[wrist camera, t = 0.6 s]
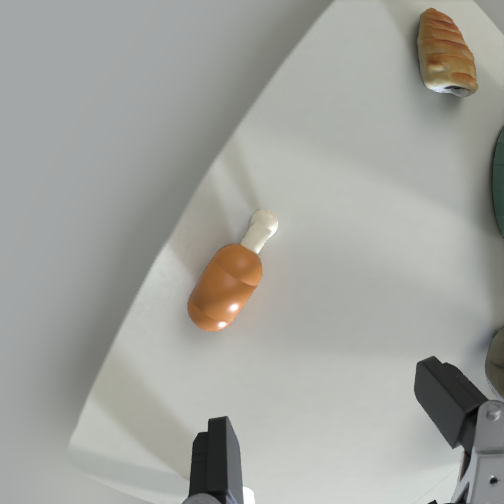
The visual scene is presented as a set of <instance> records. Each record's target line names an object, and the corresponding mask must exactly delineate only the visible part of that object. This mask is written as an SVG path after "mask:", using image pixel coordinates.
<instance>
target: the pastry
mask: <svg viewBox="0 0 504 504" xmlns="http://www.w3.org/2000/svg"><path fill="white" fill-rule="evenodd" d="M417 46H418V60H419V62H420V74H421V78H422V79H423V82H424V84H425V86H426V87H427V88H428V89H431V90H433V91H436V92H440V93H442V92H444V93H452V94H454V95H456V96H458V97H467V96H469V95H471V94H473V93H475V92H476V90H477V89H478V84H477V83H476V69H475V65H474V57H473V54H472V53H471V52H470V50H469V49H468V46H467V45H466V43H465V41H464V40H463V37H462V34H461V32H460V31H459V30H458V27H457V26H456V25H455V24H454V22H453V20H452V19H451V18H450V17H448V16H447V15H445V14H443V13H441V12H439V11H437V10H435V9H434V8H429V9H427V10H426V11H425V12H423V13H422V14H421V16H420V27H419V35H418V39H417Z"/></svg>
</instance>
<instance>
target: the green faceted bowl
mask: <svg viewBox="0 0 504 504" xmlns="http://www.w3.org/2000/svg"><path fill="white" fill-rule="evenodd" d="M492 189H493V190H492V192H493V200H494V209H495V215H496V218H497V222H498V225H499V228H500V232H501V234H502V235H503V237H504V127H503V130H502V132H501V134H500V137H499V139H498V141H497V146H496V151H495V157H494V162H493V186H492Z"/></svg>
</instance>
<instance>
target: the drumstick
mask: <svg viewBox="0 0 504 504" xmlns="http://www.w3.org/2000/svg"><path fill="white" fill-rule="evenodd" d="M277 226H278V222H277V218H276V216H275V215H274V214H273V213H272V212H270V211H268V210H259V211H256V212H255V213H254V214H253V215H252V216H251V218H250V220H249V230H248V231H247V233H246V234H245V236H244V237H243V239H242V241H241V242H240V244H230V245H227V246H225V247H223V248H221V249H220V250H219V251H218V252H217V253H216V254H215V255H214V257H213V258H212V260H211V262H210V263H209V265H208V266H207V268H206V270H205V271H204V273H203V275H202V276H201V278H200V279H199V281H198V283H197V284H196V286H195V288H194V289H193V291H192V292H191V294H190V297H189V299H188V313H189V316H190V318H191V320H192V321H193V323H194V324H195V325H197V326H198V327H199V328H201V329H203V330H206V331H219V330H222V329H224V328H226V327H227V326H229V325H230V324H231V323H232V321H233V320H234V319H235V317H236V316H237V314H238V313H239V312H240V310H241V309H242V307H243V306H244V304H245V303H246V301H247V300H248V298H249V297H250V296H251V294H252V293H253V291H254V290H255V288H256V287H257V285H258V283H259V282H260V280H261V276H262V264H261V261H260V258H259V257H258V253H259V251H260V250H261V248H262V247H263V245H264V244H265V242H266V241H267V239H268V238H269V237H270V236H272V235H273V234H274V233H275V232H276V230H277Z"/></svg>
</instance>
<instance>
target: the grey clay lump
mask: <svg viewBox="0 0 504 504" xmlns="http://www.w3.org/2000/svg"><path fill="white" fill-rule="evenodd" d="M485 373H486V377H487V380H488V383H489V385H490V387H491V389H492V391H493V393H494V395H495V396H496V398H497V399H498V400H499V401H501V402H503V403H504V326H503V327H502V328H501V329H500V330H499V331H498V332H497V334H496V335H495V336H494V338H493V340H492V342H491V344H490V347H489V350H488V354H487V358H486V362H485Z"/></svg>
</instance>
